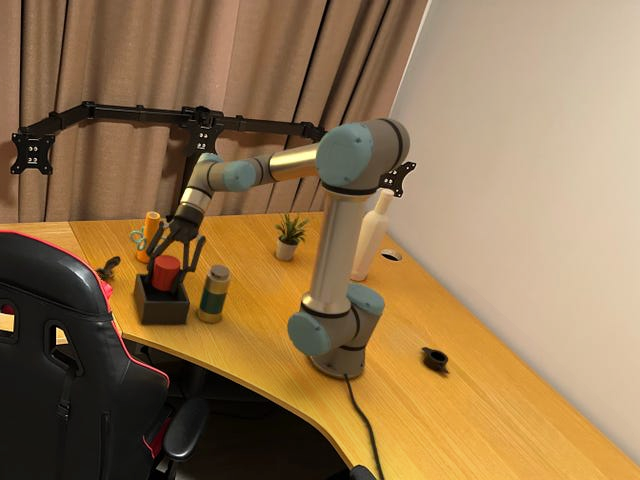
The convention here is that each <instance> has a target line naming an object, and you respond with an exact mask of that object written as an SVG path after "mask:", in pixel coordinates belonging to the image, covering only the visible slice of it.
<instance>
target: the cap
mask: <svg viewBox="0 0 640 480" xmlns="http://www.w3.org/2000/svg"><path fill="white" fill-rule="evenodd" d="M181 264H182V263H181V260H180V259H179V258H177V257H175V256H173V255H170V254H161V255H160V256H158V257H157V258H156V259H155V263H154V269H153V275H152V281H151V282H152V285H153V286H154V287H155V288H157V289H159V290H162V291H169V290H170V289H171V287H172V285H173V282H174V280H175V277H176V275H177V273H178V271H179V269H181Z"/></svg>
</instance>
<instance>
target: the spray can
mask: <svg viewBox="0 0 640 480" xmlns="http://www.w3.org/2000/svg"><path fill="white" fill-rule="evenodd" d="M230 272H231V271H230V269H229V268H228V267H226V266H225V265H221V264H214V265H212V266H211V267H210V269H208V270H207V272H206V274H205V279H204V284H203V287H202V291H201V292H202V293H201V297H200V301H199V305H198V309H197V317H198V318H199V320H201V321H202V322H205V323H209V324H215V323H218V322H219V321H220V320H221V317H222V313H223V310H224V306H225V302H226V299H227V295H228V290H229V288H230V283H231V280H232V276H231V273H230Z"/></svg>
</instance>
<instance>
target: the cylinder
mask: <svg viewBox="0 0 640 480" xmlns="http://www.w3.org/2000/svg"><path fill="white" fill-rule="evenodd" d="M160 219H161V215H160V214H159V213H158V212H155V211H148V212H146V216H145V223H144V225H143V226H142V227H141V228H140V231H139V230H133V231H131V232H130V233H129V239H130V241H131V242H132V243H134V244H136V249H137V255H136V258H137V260H139V261H140V262H142V263H145V264H148V262H149V260H150V257H149V256H148V255H147V254H146V250H147V248H148V246H149V244H150V242H151V241H152V239H153V237H154V235H155V234H156V232H157V230H158V227H159V222H160ZM134 234H138V235H139V237H140V239H139V240H135V239H134V237H133V236H134ZM166 238H167V237H166V236H162V237H161V239H160V240H163V241H164V240H165V239H166ZM159 246H160V244H159V243H158V244H157V246H156V248H155V250H156V249H157V248H158V247H159ZM155 250H154V251H155ZM154 251H153V252H154Z"/></svg>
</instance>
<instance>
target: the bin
mask: <svg viewBox="0 0 640 480" xmlns="http://www.w3.org/2000/svg"><path fill="white" fill-rule="evenodd" d="M146 276H147V273H136V274H135V281H134V288H133V299H134V303H135V307H136V309H137V313H138V318H139V321H140V324H141V325H187V320H188V316H189V311H190V307H191V301H190V299H189V296H188V293H187V291H186V288H185V284H184V282H183V283H179V284H178V286H177V288H176V291H175V293H174V294H172V293H171V292H170V290H169V291H162V290H159V289H157V288H155V287H154V286H153V285H152V282H151V281H152V278H151V280H150V283H149V285H148V284H146V283H145V282H144V280H145V278H146Z"/></svg>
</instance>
